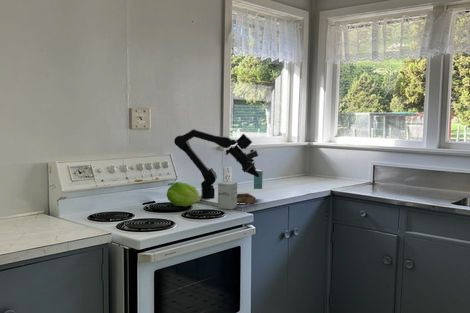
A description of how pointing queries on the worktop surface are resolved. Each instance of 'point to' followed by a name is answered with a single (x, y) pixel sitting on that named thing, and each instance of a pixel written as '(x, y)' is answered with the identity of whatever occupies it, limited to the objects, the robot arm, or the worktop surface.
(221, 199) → the grey stone cylinder
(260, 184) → the tea tin
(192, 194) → the green oval fruit
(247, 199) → the box
